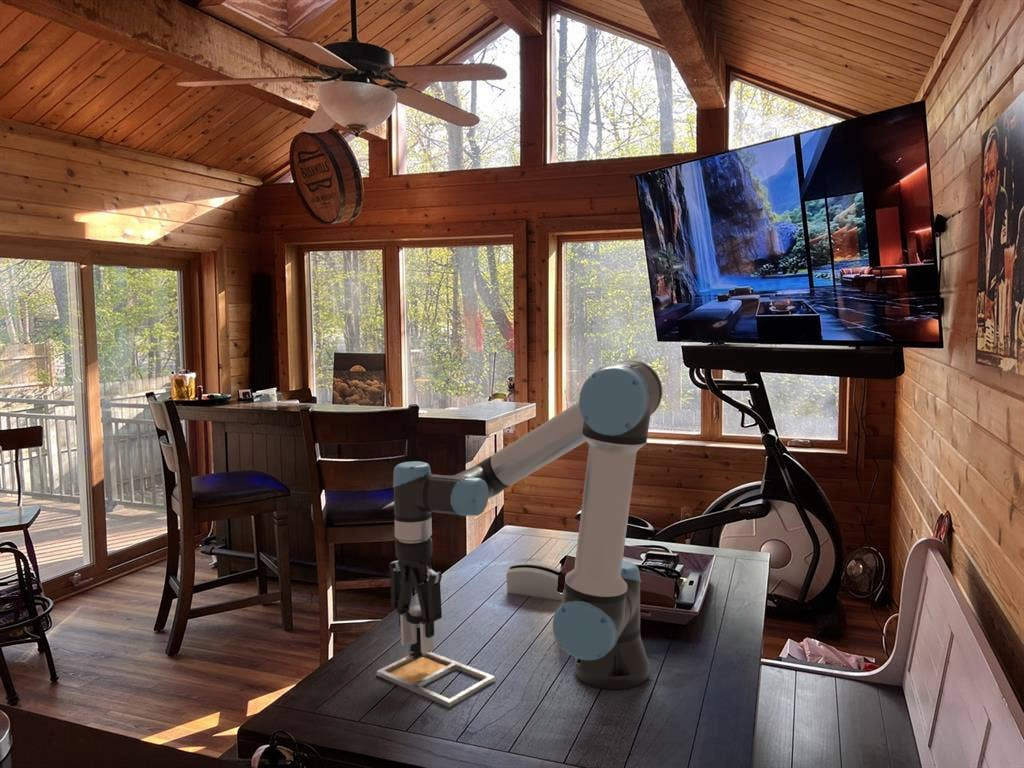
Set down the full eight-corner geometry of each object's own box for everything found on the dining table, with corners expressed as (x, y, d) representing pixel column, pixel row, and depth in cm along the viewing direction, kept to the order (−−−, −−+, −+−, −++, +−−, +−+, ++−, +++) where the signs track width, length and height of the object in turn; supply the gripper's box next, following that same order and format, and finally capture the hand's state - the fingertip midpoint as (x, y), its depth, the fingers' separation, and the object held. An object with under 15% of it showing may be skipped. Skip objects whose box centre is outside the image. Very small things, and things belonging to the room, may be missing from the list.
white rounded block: (572, 594, 200) (567, 563, 196) (566, 606, 196) (561, 574, 192) (514, 586, 207) (508, 556, 203) (507, 597, 203) (501, 567, 199)
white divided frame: (495, 681, 154) (494, 676, 154) (449, 707, 144) (449, 702, 144) (423, 653, 168) (422, 648, 168) (376, 675, 158) (376, 670, 158)
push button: (416, 664, 155) (414, 617, 154) (396, 658, 158) (395, 611, 157) (437, 652, 160) (436, 606, 159) (418, 646, 163) (417, 600, 162)
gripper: (458, 541, 153) (461, 652, 156) (397, 526, 165) (401, 629, 167) (431, 551, 148) (435, 666, 150) (370, 534, 159) (374, 641, 162)
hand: (417, 646), depth 159 cm, fingers closed on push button, 5 cm apart
